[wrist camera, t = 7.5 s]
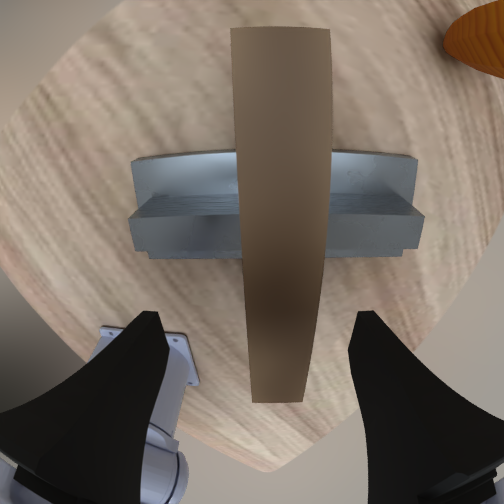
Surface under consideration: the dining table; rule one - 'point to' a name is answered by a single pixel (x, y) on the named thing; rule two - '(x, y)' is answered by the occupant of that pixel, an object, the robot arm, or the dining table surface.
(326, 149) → the walnut rod
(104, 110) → the dining table surface
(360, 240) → the stand
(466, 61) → the carrot
